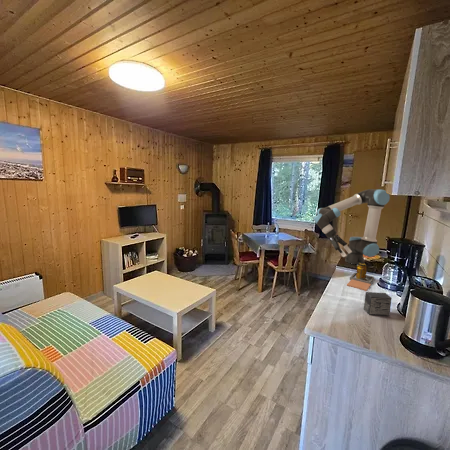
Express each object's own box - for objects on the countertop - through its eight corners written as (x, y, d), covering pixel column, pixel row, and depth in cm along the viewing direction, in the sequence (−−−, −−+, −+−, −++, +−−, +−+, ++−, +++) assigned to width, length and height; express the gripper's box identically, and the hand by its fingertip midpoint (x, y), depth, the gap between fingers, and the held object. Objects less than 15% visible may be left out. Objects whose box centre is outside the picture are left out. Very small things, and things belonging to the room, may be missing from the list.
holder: (354, 274, 181) (354, 272, 180) (374, 279, 172) (374, 277, 172) (349, 279, 171) (349, 277, 171) (370, 285, 163) (370, 282, 162)
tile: (351, 280, 170) (351, 279, 170) (370, 285, 162) (370, 284, 162) (346, 285, 161) (346, 284, 161) (366, 291, 153) (366, 289, 153)
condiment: (353, 277, 176) (355, 262, 174) (365, 278, 175) (367, 262, 173) (358, 281, 168) (360, 265, 166) (370, 282, 168) (372, 266, 166)
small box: (383, 310, 130) (385, 292, 129) (390, 316, 124) (392, 298, 122) (362, 308, 131) (365, 291, 130) (368, 315, 125) (371, 296, 123)
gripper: (330, 232, 195) (348, 253, 187) (319, 236, 176) (338, 260, 169) (338, 226, 190) (356, 248, 183) (327, 230, 172) (347, 255, 165)
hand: (347, 254), depth 176 cm, fingers open, 13 cm apart
